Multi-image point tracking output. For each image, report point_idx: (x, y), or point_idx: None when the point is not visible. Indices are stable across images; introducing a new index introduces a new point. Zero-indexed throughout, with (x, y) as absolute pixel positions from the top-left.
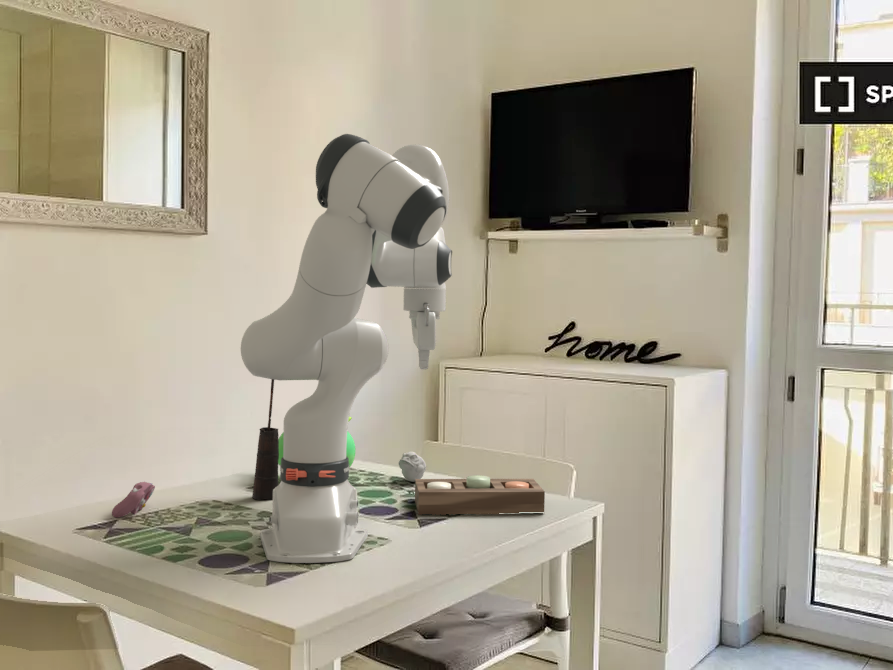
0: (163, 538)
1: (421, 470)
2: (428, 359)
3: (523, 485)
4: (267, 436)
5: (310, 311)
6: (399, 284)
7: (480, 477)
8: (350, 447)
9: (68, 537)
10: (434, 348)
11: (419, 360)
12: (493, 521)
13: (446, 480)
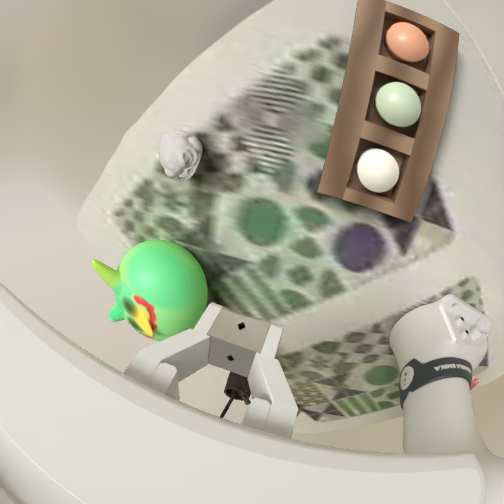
0: (363, 400)
1: (198, 141)
2: (281, 367)
3: (422, 38)
4: (250, 393)
5: None
6: None
7: (398, 99)
8: (175, 265)
9: (333, 424)
10: (475, 455)
11: (225, 368)
12: (465, 127)
13: (344, 142)
